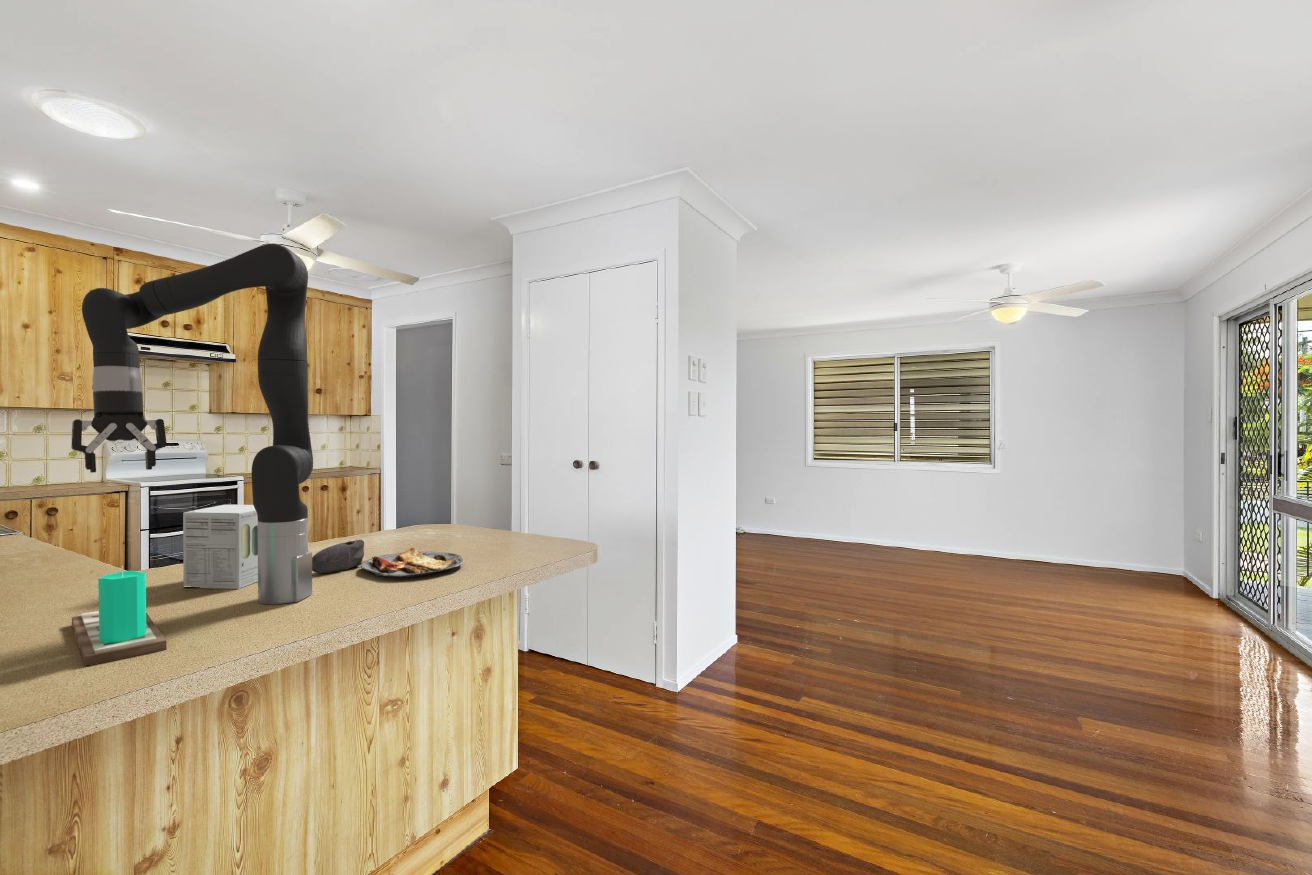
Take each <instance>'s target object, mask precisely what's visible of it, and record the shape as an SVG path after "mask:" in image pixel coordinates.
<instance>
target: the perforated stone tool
mask: <svg viewBox="0 0 1312 875" xmlns="http://www.w3.org/2000/svg"><path fill="white" fill-rule="evenodd" d="M364 556H365V541H364V540H363V539H355V540H349V541H345V542H339V543H337V544H333V545H330V546H328V547H326V548H324V549H321V550H320V551H318V552H317V553H315V554H314V555H312V572H314V573H316V574H328V573H335V572H341V571H345V570H349V569H352V568H354V567H358V566H361V565H362V564H363V559H364Z"/></svg>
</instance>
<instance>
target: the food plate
mask: <svg viewBox="0 0 1312 875" xmlns="http://www.w3.org/2000/svg"><path fill="white" fill-rule="evenodd" d="M464 562H465V558H464V557H463V556H462V555H459V554H458V553H457V554H456V553H451V552H444V551H443V552H441V551H428V550H427V551H418V550H417V549H415V547H411V548H410V549H406V550H405V551H404V552H397V553H396V552H395V553H391V554H389V553H388V554H383V555H379V556H376V555H375V556H372V557H371V558H369V559H367V560H364V561H362V564H361V565H360V567H359V568H360V569H362V570H363V569H364V570H366V571H368V572H371V573H374V574H375V576H380V577H381V576H382V577H394V578H395V577H396V578H397V577H399V578H408V577H409V578H412V577H423V576H427V575H433V574H436V573H441V572H443V571H447V570H451V569H453V568H457V567H459V566H461V565H462V564H463V563H464Z"/></svg>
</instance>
